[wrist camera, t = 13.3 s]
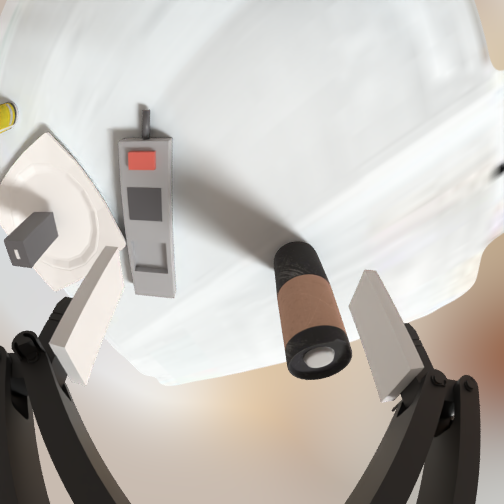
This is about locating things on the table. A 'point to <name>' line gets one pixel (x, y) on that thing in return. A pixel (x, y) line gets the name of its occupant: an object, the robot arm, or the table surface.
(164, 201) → the power strip
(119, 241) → the plate
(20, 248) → the block
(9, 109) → the supplement bottle
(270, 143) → the table surface
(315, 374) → the travel mug
